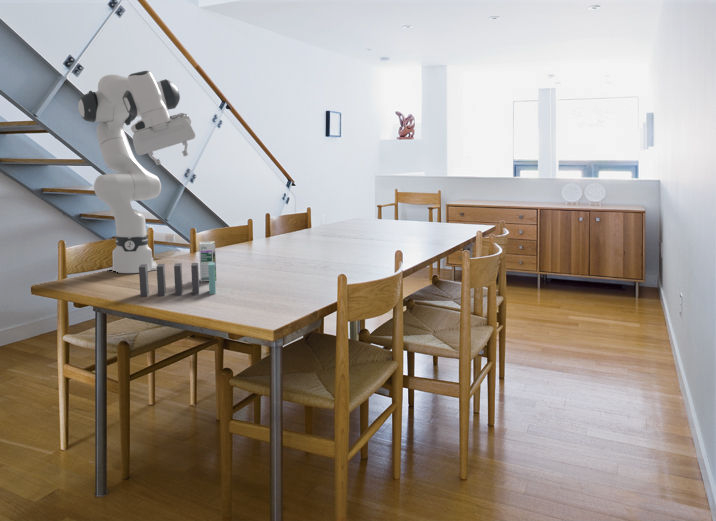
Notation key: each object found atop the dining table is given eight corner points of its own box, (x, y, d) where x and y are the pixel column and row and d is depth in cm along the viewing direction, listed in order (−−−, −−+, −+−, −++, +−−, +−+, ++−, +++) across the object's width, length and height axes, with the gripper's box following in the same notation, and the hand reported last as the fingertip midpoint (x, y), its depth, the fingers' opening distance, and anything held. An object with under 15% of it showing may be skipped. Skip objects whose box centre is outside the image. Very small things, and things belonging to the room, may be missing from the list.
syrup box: (200, 282, 212) (199, 243, 209) (200, 278, 217) (198, 241, 215) (216, 281, 213) (215, 243, 211) (215, 278, 219) (214, 240, 216)
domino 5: (209, 294, 194) (208, 265, 192) (209, 290, 199) (208, 262, 197) (215, 293, 194) (214, 264, 193) (215, 290, 199) (214, 262, 197)
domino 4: (192, 294, 193) (191, 265, 191) (193, 291, 198) (192, 262, 196) (198, 294, 193) (197, 265, 191) (199, 291, 198) (198, 262, 196)
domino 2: (158, 296, 190) (156, 266, 189) (159, 292, 195) (158, 263, 193) (164, 296, 191) (162, 266, 189) (165, 292, 196) (164, 263, 194)
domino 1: (140, 296, 189) (138, 267, 187) (142, 293, 194) (141, 264, 192) (147, 296, 190) (145, 267, 188) (148, 293, 194) (147, 264, 193)
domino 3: (175, 295, 192) (174, 266, 190) (176, 292, 196) (175, 263, 195) (181, 295, 192) (180, 266, 190) (182, 291, 197) (181, 263, 195)
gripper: (186, 112, 197) (201, 151, 201) (126, 129, 191) (142, 169, 195) (188, 110, 191) (203, 150, 195) (126, 128, 185) (143, 169, 189)
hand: (172, 160), depth 195 cm, fingers open, 8 cm apart
